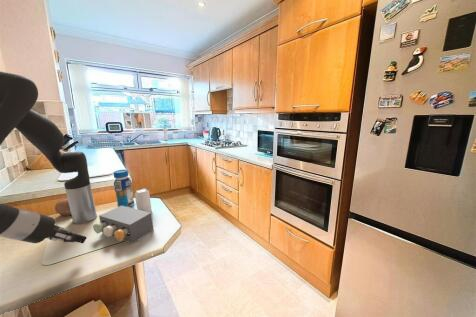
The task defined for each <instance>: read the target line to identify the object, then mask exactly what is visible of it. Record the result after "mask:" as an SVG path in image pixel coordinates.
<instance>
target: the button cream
mask: <svg viewBox="0 0 476 317" xmlns="http://www.w3.org/2000/svg"><path fill="white" fill-rule="evenodd" d="M117 230H118V227H117V225H116V224H115V225H113V226H107V227H105V228H104V229H103V232H104V233H103V234H104V235H105V237H106V238H110V237H113V236H112V235H113V234H114V232H115V231H117Z"/></svg>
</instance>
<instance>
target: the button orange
mask: <svg viewBox="0 0 476 317" xmlns="http://www.w3.org/2000/svg"><path fill="white" fill-rule="evenodd" d="M127 234H129V230H128V228H125V229H123V230H121V229H119V230H117V231H115V232H114V236H115V237H114V238H115V240H116V241H117V242H121V241H124V240H123V239H124V238H125V235H127Z"/></svg>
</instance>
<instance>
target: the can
mask: <svg viewBox="0 0 476 317" xmlns="http://www.w3.org/2000/svg"><path fill="white" fill-rule="evenodd" d="M134 198H135V203H136V204H135V206H136V209H138V210H142V211H146V212H150V213H152V203H151V195H150V191H149V189H148V188H143V187H142V188H139V189H137V190H135V194H134Z"/></svg>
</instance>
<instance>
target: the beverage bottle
mask: <svg viewBox="0 0 476 317" xmlns="http://www.w3.org/2000/svg"><path fill="white" fill-rule="evenodd" d="M112 173H113V174H112V175H113V177H114V179H115V180H114V181H113V186H114V187H113V189H114V192H115V198H116V204H117V207H119V206H126V207H130V208H131V206H134V204H135V199H134V194H133V184H132V181H131V179H130V177H129V171H128V169H118V170H115V171H113V172H112Z"/></svg>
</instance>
